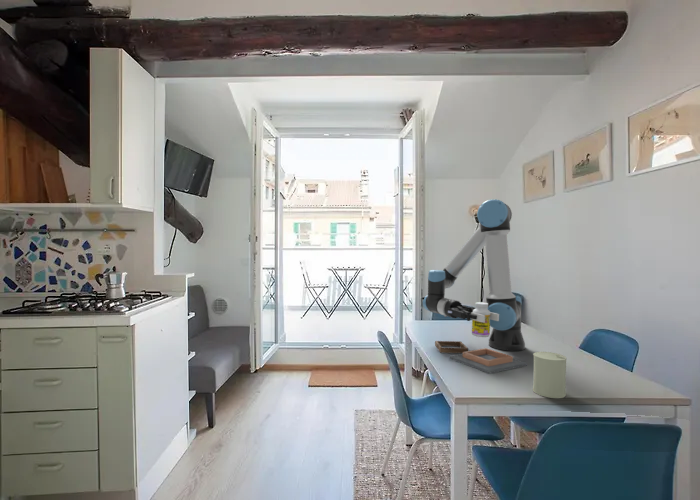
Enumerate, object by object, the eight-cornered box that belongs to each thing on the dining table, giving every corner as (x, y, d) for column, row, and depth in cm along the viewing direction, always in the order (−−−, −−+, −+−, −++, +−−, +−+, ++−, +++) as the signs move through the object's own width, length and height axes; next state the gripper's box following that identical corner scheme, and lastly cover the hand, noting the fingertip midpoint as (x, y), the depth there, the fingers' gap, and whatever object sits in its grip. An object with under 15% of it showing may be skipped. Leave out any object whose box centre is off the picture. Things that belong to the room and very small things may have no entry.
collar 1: (435, 345, 174) (435, 340, 174) (460, 345, 174) (461, 341, 174) (440, 352, 162) (440, 347, 162) (468, 353, 162) (468, 348, 162)
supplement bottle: (471, 336, 149) (472, 303, 149) (472, 332, 156) (473, 301, 155) (489, 338, 147) (490, 305, 147) (489, 334, 153) (490, 302, 153)
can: (565, 400, 113) (565, 360, 113) (530, 394, 118) (531, 355, 118) (566, 390, 121) (567, 353, 121) (534, 384, 126) (535, 348, 126)
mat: (449, 358, 154) (449, 355, 154) (485, 352, 164) (485, 349, 164) (489, 373, 137) (489, 370, 137) (526, 365, 146) (526, 362, 146)
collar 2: (462, 357, 153) (462, 352, 153) (485, 352, 159) (486, 348, 159) (488, 366, 141) (488, 361, 141) (512, 361, 148) (512, 356, 148)
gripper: (467, 315, 172) (509, 326, 151) (432, 318, 163) (471, 330, 142) (467, 298, 171) (509, 307, 151) (432, 300, 163) (472, 310, 142)
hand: (491, 318), depth 147 cm, fingers closed on supplement bottle, 7 cm apart
